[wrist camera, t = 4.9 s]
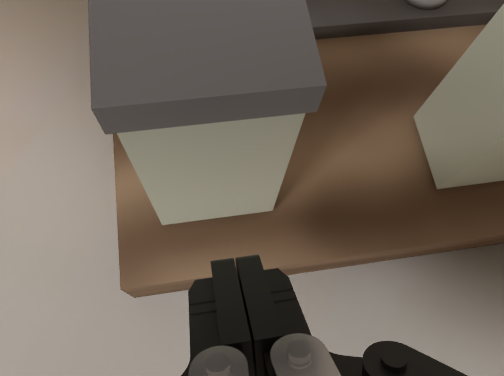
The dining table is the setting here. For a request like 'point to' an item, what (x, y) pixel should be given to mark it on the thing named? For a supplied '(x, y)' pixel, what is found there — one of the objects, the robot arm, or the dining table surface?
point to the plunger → (468, 114)
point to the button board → (338, 161)
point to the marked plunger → (205, 97)
